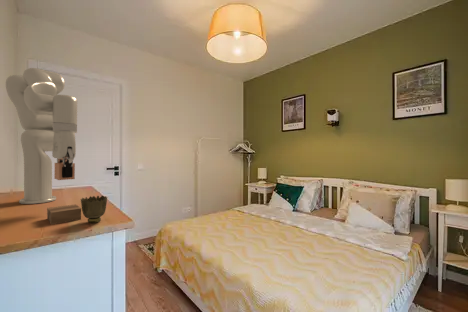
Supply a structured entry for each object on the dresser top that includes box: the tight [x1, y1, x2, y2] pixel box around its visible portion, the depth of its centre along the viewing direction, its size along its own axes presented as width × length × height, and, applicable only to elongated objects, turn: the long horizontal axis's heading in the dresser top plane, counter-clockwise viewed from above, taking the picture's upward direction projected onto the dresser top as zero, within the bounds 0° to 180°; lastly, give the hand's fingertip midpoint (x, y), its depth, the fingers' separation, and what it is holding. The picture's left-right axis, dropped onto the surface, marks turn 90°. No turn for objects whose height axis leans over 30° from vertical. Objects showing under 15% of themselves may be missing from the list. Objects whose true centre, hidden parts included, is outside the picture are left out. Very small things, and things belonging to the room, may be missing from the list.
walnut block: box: [46, 204, 82, 225], centre depth 79 cm, size 8×8×4 cm
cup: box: [80, 195, 108, 224], centre depth 76 cm, size 8×7×8 cm
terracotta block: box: [53, 162, 76, 181], centre depth 89 cm, size 5×5×6 cm
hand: (64, 176), depth 89 cm, fingers closed on terracotta block, 5 cm apart
